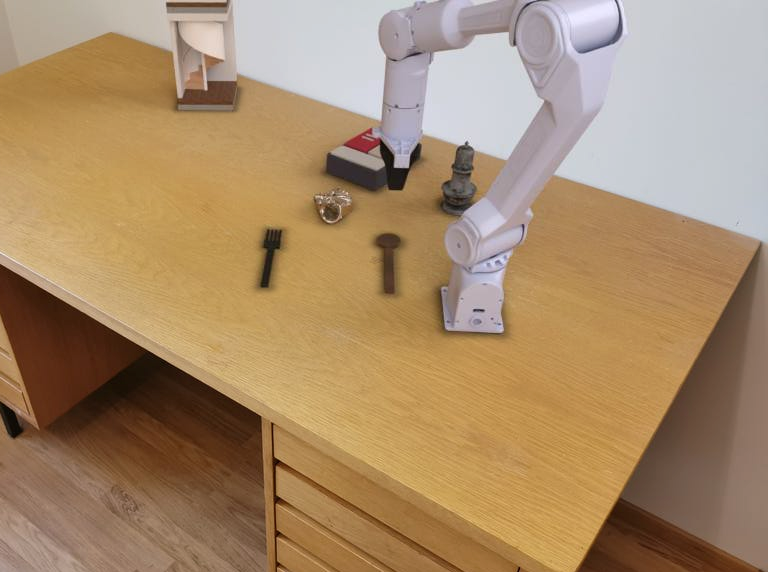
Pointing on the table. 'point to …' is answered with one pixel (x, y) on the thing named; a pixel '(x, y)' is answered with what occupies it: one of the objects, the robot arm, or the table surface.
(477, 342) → the table surface
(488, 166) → the table surface
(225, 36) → the spiral staircase model
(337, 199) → the ornament
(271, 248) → the black fork
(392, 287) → the brown disc-ended stick
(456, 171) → the grey stone chess piece
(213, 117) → the table surface
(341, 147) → the calculator
